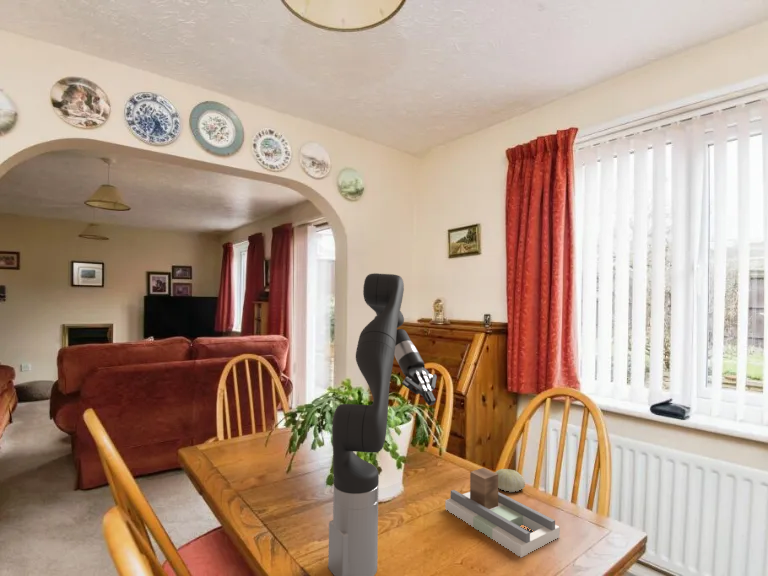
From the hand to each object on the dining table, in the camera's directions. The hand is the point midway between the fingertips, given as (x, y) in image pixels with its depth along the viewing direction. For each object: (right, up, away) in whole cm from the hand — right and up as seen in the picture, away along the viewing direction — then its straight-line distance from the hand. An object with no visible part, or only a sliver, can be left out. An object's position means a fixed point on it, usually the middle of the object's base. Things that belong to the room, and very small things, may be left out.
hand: (432, 403), depth 125 cm
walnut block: (+11, -21, -18) cm, 30 cm away
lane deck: (+14, -24, -22) cm, 35 cm away
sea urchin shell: (+22, -25, -2) cm, 33 cm away
